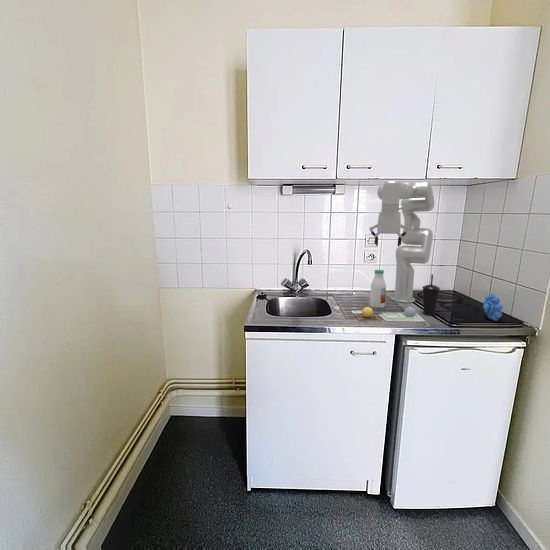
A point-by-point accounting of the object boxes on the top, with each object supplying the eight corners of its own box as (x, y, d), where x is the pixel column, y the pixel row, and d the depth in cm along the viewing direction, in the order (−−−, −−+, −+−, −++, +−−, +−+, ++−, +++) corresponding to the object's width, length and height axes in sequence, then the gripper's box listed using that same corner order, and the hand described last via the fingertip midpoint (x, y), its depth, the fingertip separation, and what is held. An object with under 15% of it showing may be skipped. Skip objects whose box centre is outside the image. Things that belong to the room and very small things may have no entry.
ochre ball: (360, 315, 147) (361, 305, 147) (371, 315, 147) (371, 305, 146) (363, 318, 143) (363, 308, 142) (374, 318, 142) (374, 308, 142)
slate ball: (402, 315, 147) (402, 305, 146) (412, 315, 147) (413, 305, 146) (406, 318, 142) (407, 308, 141) (417, 318, 142) (418, 308, 141)
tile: (351, 311, 156) (351, 310, 156) (362, 311, 156) (362, 310, 156) (353, 313, 153) (353, 312, 152) (365, 313, 152) (365, 312, 152)
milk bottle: (375, 309, 160) (377, 271, 156) (367, 305, 167) (368, 269, 164) (387, 307, 162) (390, 270, 158) (379, 304, 169) (381, 268, 166)
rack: (378, 314, 150) (378, 312, 150) (415, 314, 149) (415, 311, 149) (385, 321, 140) (385, 318, 140) (425, 321, 140) (425, 318, 139)
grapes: (474, 315, 148) (476, 291, 146) (488, 315, 148) (491, 291, 145) (489, 323, 136) (492, 297, 134) (505, 323, 136) (508, 297, 134)
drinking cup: (416, 312, 153) (419, 273, 149) (428, 311, 155) (431, 272, 152) (429, 317, 146) (432, 276, 142) (441, 315, 148) (445, 275, 145)
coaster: (354, 315, 150) (354, 313, 150) (374, 315, 150) (374, 313, 150) (359, 321, 140) (359, 319, 140) (381, 321, 140) (381, 319, 140)
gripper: (409, 209, 141) (406, 246, 144) (370, 209, 147) (368, 245, 150) (411, 208, 134) (408, 247, 137) (370, 208, 140) (368, 246, 143)
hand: (387, 246), depth 143 cm, fingers open, 9 cm apart
